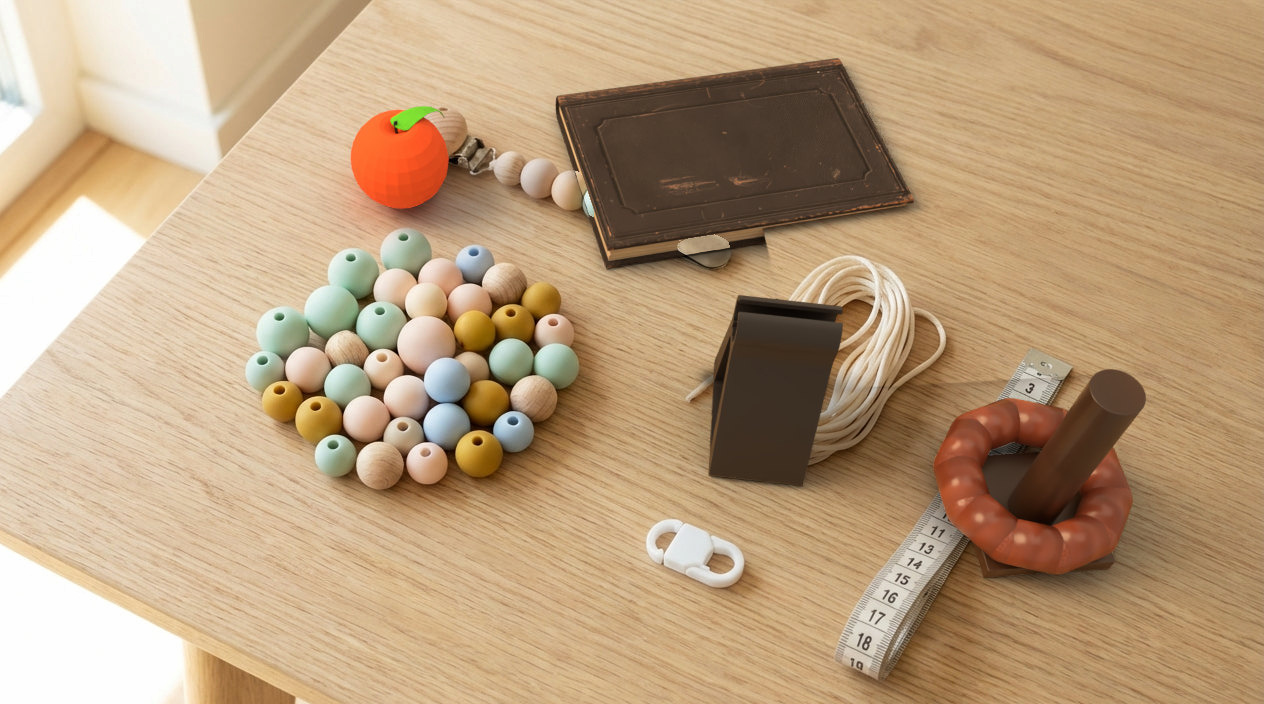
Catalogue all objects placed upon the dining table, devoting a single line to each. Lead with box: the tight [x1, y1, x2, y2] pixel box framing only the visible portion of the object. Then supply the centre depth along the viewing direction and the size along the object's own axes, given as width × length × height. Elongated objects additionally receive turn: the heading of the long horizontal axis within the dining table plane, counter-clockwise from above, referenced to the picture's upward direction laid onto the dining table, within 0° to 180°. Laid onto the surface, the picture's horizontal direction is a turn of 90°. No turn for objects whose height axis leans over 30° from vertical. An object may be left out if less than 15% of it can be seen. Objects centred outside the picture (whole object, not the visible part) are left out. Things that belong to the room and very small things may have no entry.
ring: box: [932, 397, 1134, 575], centre depth 75 cm, size 12×12×3 cm
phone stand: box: [708, 294, 844, 487], centre depth 75 cm, size 9×6×12 cm, turn 174°
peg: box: [972, 368, 1147, 579], centre depth 71 cm, size 8×8×14 cm
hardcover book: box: [555, 57, 915, 269], centre depth 92 cm, size 16×23×2 cm
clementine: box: [350, 105, 450, 210], centre depth 87 cm, size 8×7×7 cm
